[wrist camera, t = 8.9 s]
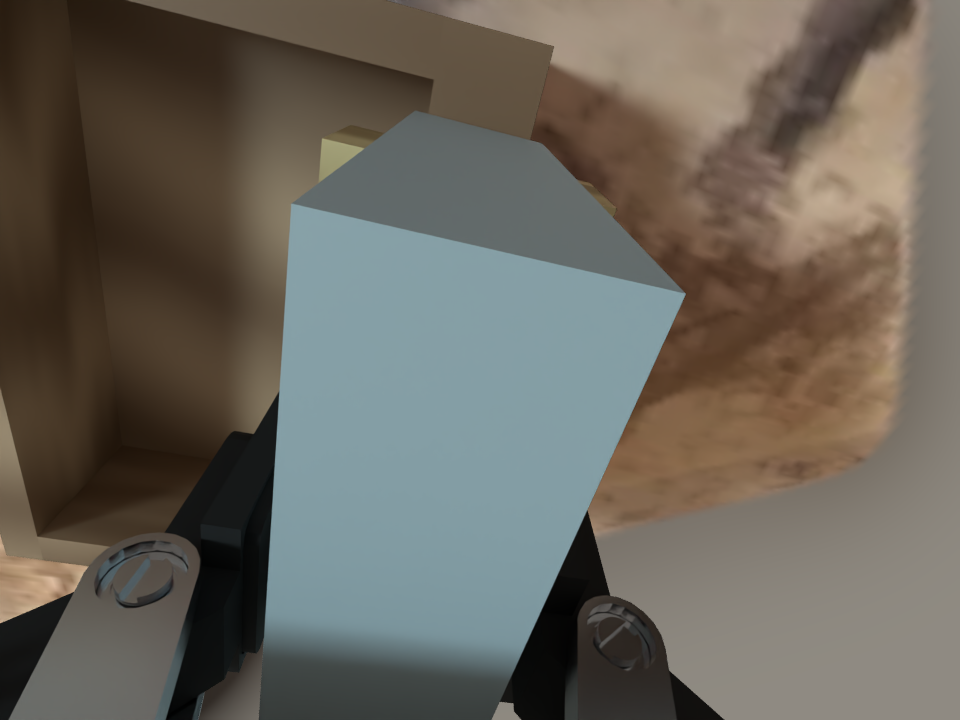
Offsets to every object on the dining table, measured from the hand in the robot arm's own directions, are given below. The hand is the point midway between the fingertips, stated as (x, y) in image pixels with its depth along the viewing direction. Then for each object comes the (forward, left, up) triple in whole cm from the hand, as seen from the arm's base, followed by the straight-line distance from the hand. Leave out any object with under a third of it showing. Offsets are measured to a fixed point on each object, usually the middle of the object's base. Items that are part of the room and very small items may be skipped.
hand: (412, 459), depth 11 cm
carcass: (0, -5, -7) cm, 9 cm away
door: (0, 0, -2) cm, 2 cm away
